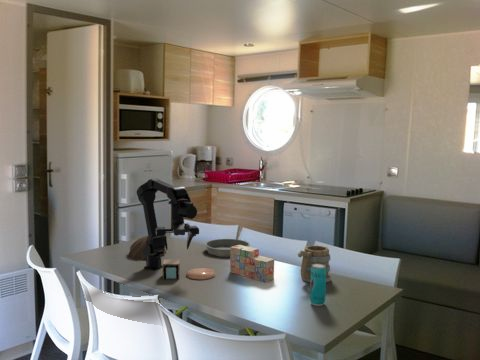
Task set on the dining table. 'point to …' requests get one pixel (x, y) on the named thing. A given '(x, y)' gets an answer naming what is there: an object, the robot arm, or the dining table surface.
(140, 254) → the decorative dome
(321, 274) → the beverage can
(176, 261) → the brown wooden open box
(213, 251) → the cake pan
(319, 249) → the tankard
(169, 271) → the block
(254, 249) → the stack of blocks
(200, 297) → the dining table surface
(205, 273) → the dish
